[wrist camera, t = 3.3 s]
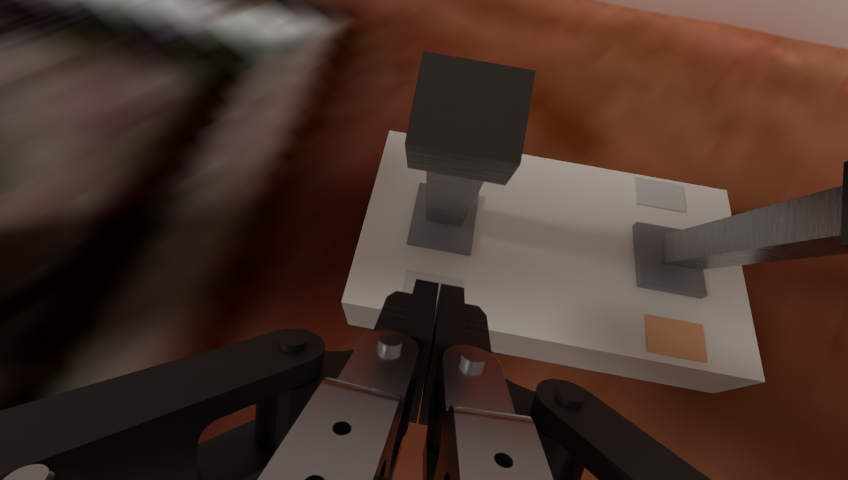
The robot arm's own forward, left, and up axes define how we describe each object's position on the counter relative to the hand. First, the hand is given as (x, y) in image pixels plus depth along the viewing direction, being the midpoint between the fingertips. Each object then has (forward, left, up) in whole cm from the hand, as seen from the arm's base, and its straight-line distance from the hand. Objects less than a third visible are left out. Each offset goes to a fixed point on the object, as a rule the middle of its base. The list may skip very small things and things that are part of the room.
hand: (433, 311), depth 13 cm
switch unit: (+6, +9, -13) cm, 17 cm away
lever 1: (0, +9, -8) cm, 12 cm away
